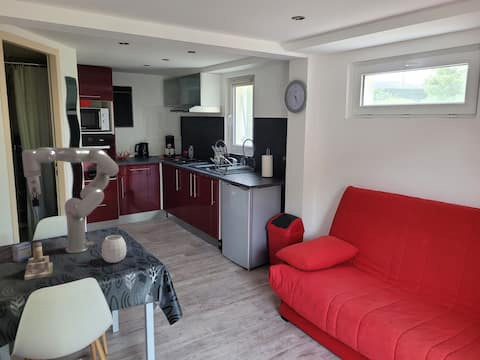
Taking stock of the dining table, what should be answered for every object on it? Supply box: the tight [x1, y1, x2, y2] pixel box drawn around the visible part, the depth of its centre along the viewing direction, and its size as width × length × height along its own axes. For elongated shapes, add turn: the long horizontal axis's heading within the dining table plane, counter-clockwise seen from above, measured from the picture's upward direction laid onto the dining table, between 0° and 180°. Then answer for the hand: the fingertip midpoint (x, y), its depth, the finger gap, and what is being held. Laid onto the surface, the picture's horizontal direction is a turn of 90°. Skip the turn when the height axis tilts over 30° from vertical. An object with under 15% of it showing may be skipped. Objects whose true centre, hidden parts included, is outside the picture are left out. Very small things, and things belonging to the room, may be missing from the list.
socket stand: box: [24, 255, 54, 281], centre depth 182 cm, size 12×14×6 cm
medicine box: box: [11, 241, 33, 263], centre depth 197 cm, size 8×4×9 cm, turn 160°
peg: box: [31, 241, 43, 263], centre depth 181 cm, size 4×4×14 cm
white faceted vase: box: [101, 234, 127, 264], centre depth 198 cm, size 13×13×14 cm
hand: (35, 204), depth 191 cm, fingers open, 9 cm apart
